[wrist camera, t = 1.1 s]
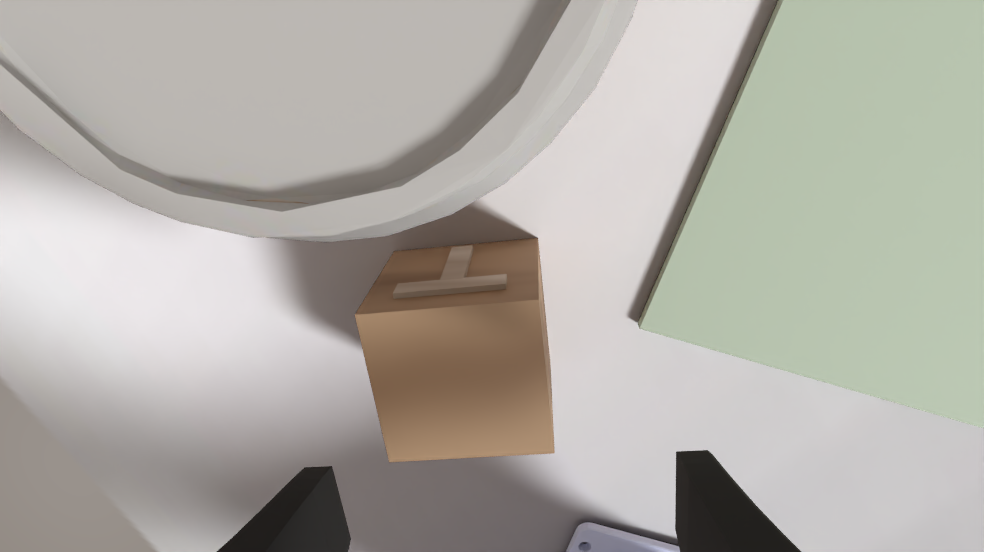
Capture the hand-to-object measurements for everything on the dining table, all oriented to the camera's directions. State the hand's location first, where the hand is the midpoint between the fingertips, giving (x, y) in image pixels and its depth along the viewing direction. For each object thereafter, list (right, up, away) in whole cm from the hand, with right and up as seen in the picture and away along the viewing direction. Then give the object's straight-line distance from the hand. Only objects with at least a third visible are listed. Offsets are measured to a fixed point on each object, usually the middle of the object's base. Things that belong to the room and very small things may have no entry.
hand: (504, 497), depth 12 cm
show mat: (+13, +7, +6) cm, 17 cm away
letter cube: (-1, +3, +9) cm, 10 cm away
